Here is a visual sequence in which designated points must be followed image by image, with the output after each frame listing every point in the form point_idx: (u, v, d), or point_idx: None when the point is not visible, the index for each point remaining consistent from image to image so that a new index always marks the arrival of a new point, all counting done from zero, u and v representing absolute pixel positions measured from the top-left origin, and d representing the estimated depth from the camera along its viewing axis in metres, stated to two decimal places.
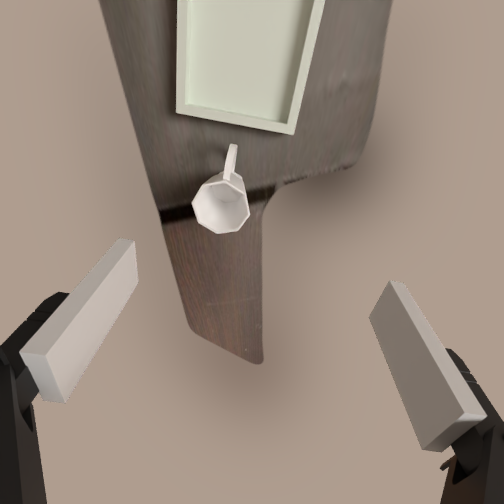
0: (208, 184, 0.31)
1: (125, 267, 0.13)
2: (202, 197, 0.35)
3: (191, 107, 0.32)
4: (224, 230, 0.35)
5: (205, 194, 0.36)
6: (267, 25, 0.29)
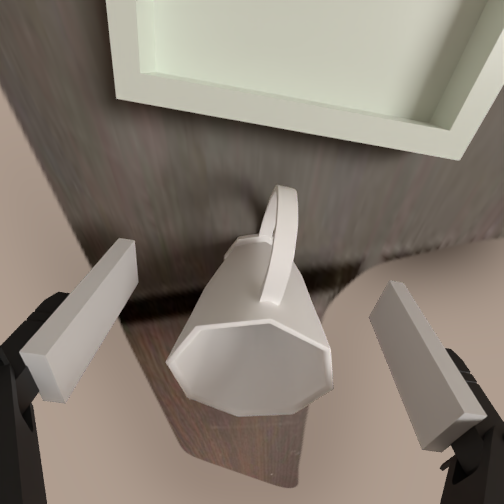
0: (215, 326, 0.10)
1: (125, 267, 0.13)
2: None
3: (161, 81, 0.10)
4: (257, 410, 0.13)
5: None
6: None
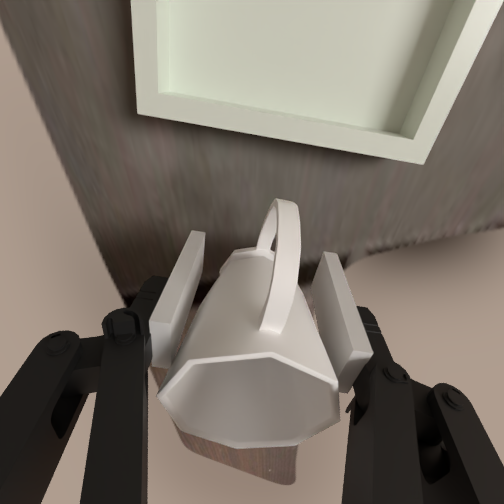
0: (210, 360, 0.09)
1: (200, 256, 0.15)
2: None
3: (175, 99, 0.13)
4: (256, 441, 0.12)
5: None
6: None
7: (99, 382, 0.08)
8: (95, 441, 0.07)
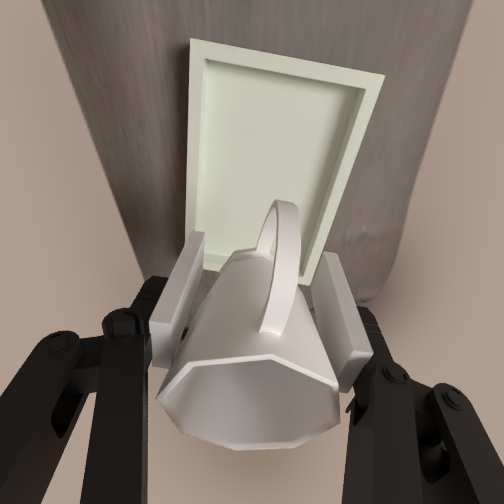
0: (210, 362, 0.09)
1: (200, 256, 0.15)
2: None
3: None
4: (256, 443, 0.12)
5: None
6: (283, 191, 0.27)
7: (99, 382, 0.08)
8: (95, 441, 0.07)
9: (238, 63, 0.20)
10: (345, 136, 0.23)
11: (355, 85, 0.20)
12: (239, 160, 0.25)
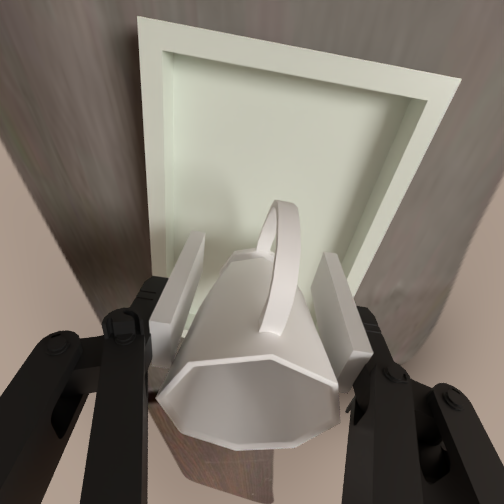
0: (210, 362, 0.09)
1: (200, 256, 0.15)
2: None
3: None
4: (256, 443, 0.12)
5: None
6: None
7: (99, 382, 0.08)
8: (95, 441, 0.07)
9: (219, 59, 0.12)
10: (384, 169, 0.16)
11: (410, 94, 0.12)
12: (227, 200, 0.18)
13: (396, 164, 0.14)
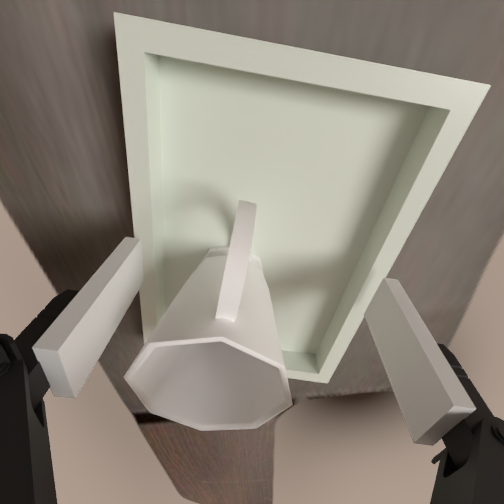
0: (168, 343, 0.10)
1: (132, 265, 0.13)
2: None
3: None
4: (220, 424, 0.13)
5: None
6: (291, 260, 0.17)
7: None
8: None
9: (210, 62, 0.10)
10: (397, 185, 0.14)
11: (431, 103, 0.11)
12: (221, 217, 0.16)
13: (412, 180, 0.13)
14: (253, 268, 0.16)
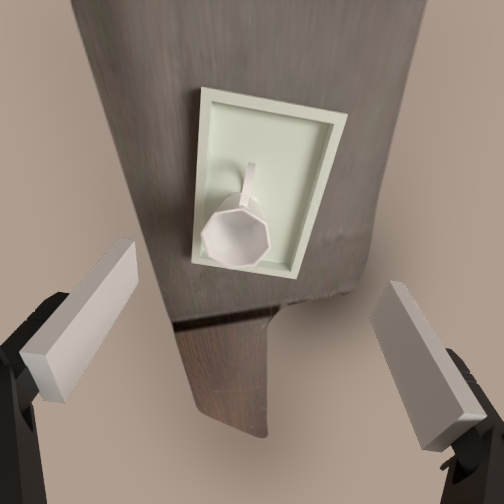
0: (221, 212, 0.25)
1: (125, 267, 0.13)
2: (212, 225, 0.29)
3: (205, 259, 0.36)
4: (238, 265, 0.29)
5: (215, 221, 0.30)
6: (273, 200, 0.33)
7: None
8: None
9: (237, 104, 0.26)
10: (321, 158, 0.30)
11: (326, 121, 0.27)
12: (237, 176, 0.32)
13: (324, 154, 0.29)
14: (253, 200, 0.31)
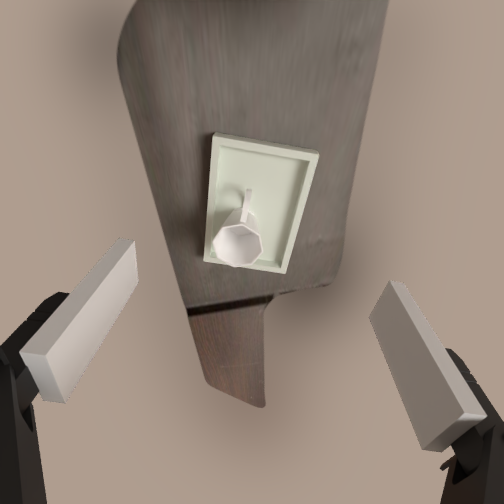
0: (227, 226, 0.36)
1: (125, 267, 0.13)
2: (220, 234, 0.39)
3: (214, 258, 0.46)
4: (240, 264, 0.39)
5: (222, 230, 0.40)
6: (266, 213, 0.43)
7: None
8: None
9: (238, 147, 0.36)
10: (301, 183, 0.40)
11: (303, 159, 0.37)
12: (239, 196, 0.42)
13: (303, 182, 0.39)
14: (251, 214, 0.41)
